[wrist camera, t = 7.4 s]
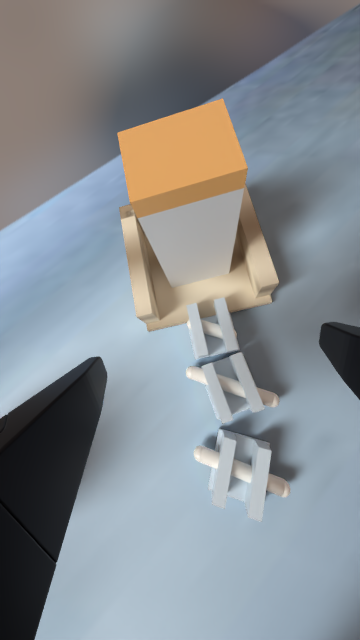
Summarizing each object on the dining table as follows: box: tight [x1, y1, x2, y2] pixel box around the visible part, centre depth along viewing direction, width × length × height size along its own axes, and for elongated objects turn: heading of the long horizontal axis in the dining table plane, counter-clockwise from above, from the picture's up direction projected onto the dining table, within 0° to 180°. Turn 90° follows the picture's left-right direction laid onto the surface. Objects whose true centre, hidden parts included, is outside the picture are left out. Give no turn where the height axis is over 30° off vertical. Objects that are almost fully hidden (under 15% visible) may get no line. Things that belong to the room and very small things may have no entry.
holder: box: [119, 184, 279, 332], centre depth 18 cm, size 10×10×3 cm
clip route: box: [186, 297, 290, 522], centre depth 16 cm, size 6×14×2 cm, turn 5°
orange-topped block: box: [118, 99, 248, 288], centre depth 14 cm, size 4×5×10 cm
